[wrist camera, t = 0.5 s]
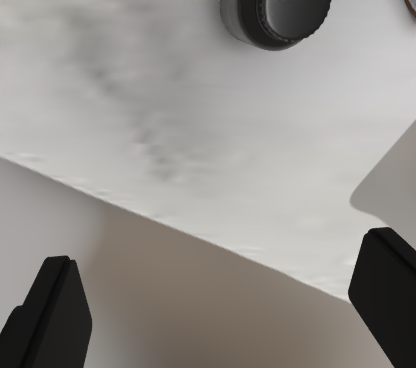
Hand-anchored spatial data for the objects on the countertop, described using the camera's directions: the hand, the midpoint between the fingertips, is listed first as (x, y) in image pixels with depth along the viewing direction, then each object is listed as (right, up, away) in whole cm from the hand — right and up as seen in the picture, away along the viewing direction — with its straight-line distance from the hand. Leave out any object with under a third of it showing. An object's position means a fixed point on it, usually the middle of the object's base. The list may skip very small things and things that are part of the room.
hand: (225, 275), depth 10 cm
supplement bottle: (+4, +21, +21) cm, 30 cm away
